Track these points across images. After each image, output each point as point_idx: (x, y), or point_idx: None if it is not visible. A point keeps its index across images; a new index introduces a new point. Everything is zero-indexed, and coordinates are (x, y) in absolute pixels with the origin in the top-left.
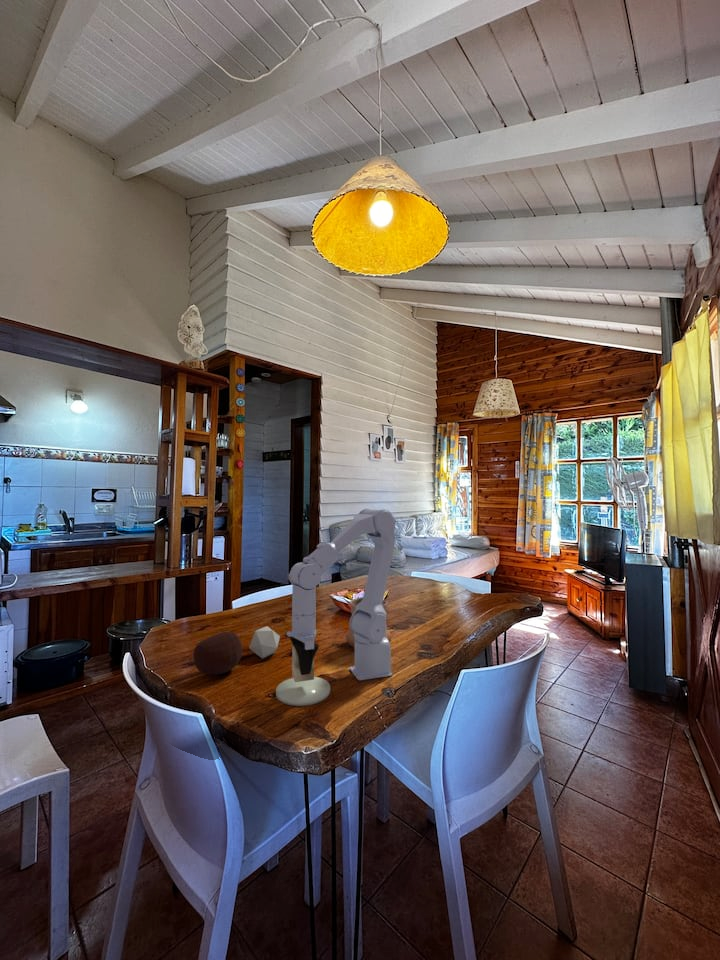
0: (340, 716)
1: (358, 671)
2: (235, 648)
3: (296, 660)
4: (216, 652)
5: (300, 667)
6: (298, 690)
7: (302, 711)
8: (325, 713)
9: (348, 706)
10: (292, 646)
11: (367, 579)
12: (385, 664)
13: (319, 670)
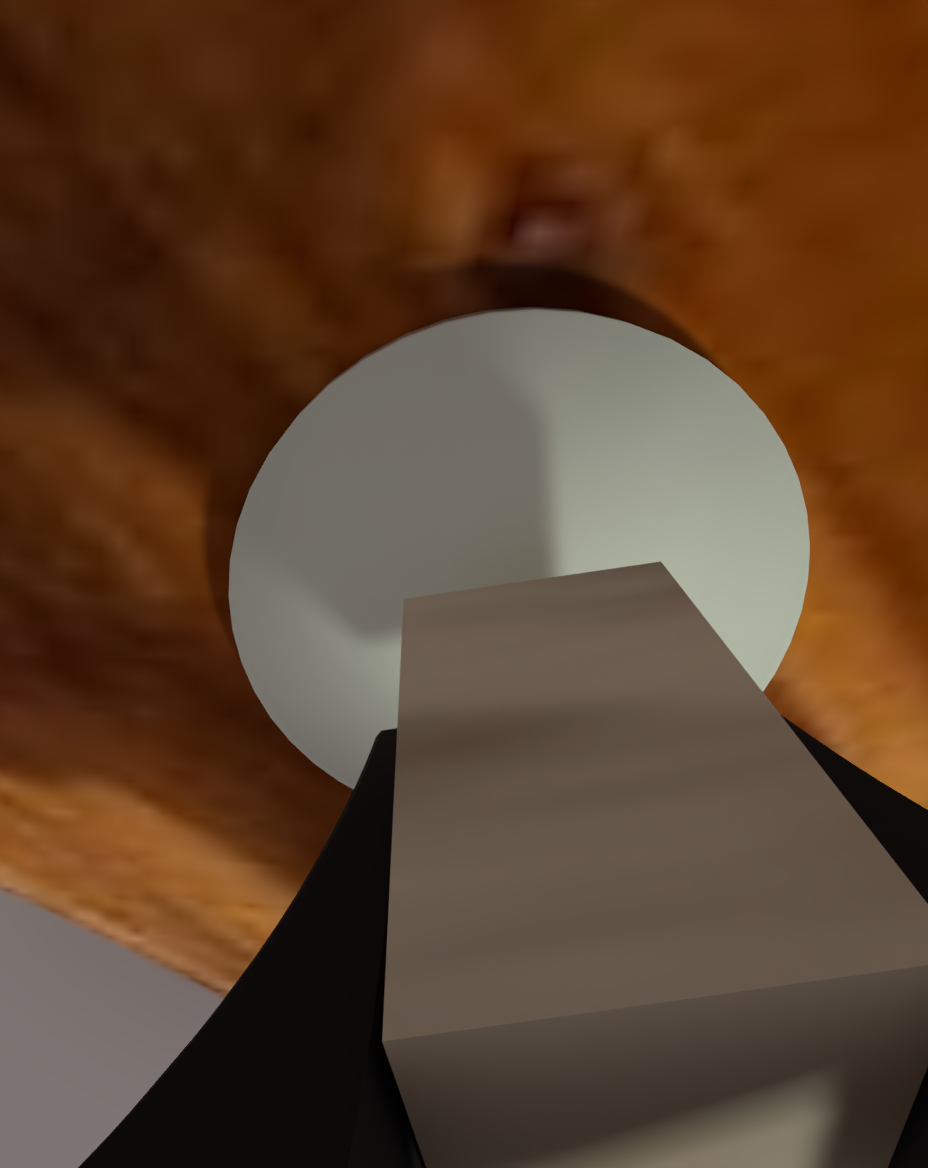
0: (68, 833)
1: None
2: None
3: (400, 845)
4: None
5: (343, 811)
6: (476, 573)
7: (135, 582)
8: (107, 749)
9: (219, 884)
10: (923, 941)
11: None
12: None
13: (914, 742)
